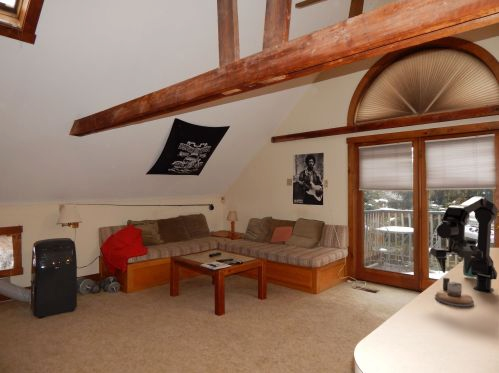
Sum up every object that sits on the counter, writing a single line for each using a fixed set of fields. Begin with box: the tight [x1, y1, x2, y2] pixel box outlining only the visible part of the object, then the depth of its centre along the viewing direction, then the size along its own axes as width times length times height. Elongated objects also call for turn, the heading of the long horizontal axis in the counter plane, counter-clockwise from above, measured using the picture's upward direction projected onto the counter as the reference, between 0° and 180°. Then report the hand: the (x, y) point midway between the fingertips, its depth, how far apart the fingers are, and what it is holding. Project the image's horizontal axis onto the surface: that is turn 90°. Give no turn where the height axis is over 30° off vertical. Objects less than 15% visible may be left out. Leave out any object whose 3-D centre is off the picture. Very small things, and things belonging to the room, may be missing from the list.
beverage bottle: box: [462, 238, 477, 278], centre depth 174 cm, size 6×7×20 cm
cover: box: [447, 281, 463, 298], centre depth 143 cm, size 5×5×5 cm
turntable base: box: [434, 293, 475, 309], centre depth 143 cm, size 14×14×1 cm
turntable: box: [436, 277, 474, 304], centre depth 144 cm, size 15×13×6 cm
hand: (455, 272), depth 143 cm, fingers open, 9 cm apart
